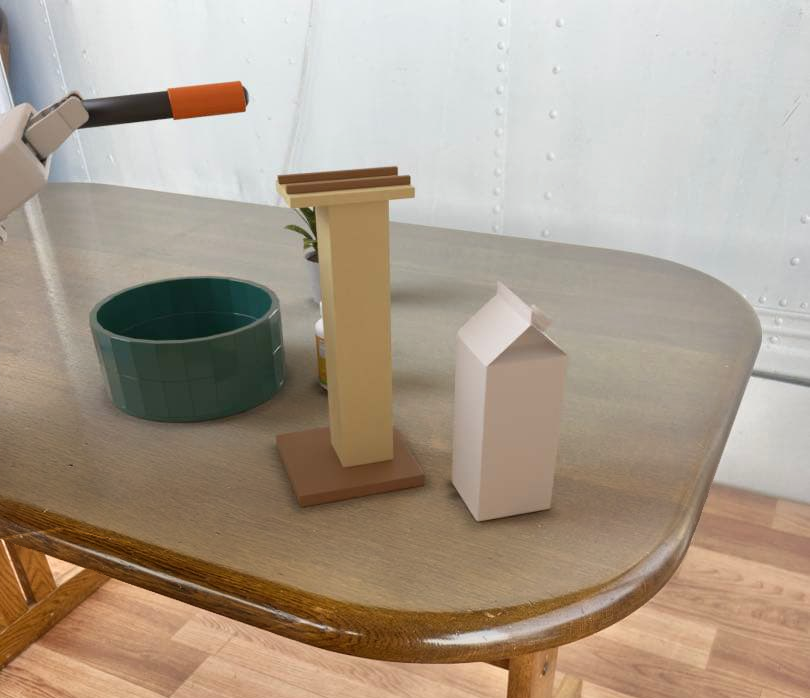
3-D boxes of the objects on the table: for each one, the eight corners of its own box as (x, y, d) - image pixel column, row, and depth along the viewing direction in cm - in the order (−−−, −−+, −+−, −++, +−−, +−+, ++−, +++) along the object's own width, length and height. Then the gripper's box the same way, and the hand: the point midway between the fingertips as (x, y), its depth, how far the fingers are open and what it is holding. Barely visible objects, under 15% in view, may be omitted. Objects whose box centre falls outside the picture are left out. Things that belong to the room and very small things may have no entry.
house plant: (358, 326, 109) (353, 198, 99) (265, 314, 112) (251, 190, 103) (393, 291, 120) (392, 172, 110) (308, 281, 123) (299, 166, 114)
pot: (109, 434, 85) (89, 354, 80) (105, 358, 101) (88, 286, 96) (302, 406, 90) (295, 328, 85) (269, 337, 106) (261, 268, 101)
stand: (300, 507, 74) (269, 201, 58) (276, 445, 83) (244, 166, 67) (424, 485, 77) (427, 187, 61) (388, 427, 86) (382, 156, 70)
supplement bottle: (336, 369, 98) (331, 290, 92) (374, 379, 96) (371, 298, 90) (310, 386, 94) (303, 305, 88) (348, 397, 92) (344, 314, 86)
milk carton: (476, 523, 72) (489, 316, 60) (450, 482, 77) (457, 285, 66) (550, 510, 73) (575, 306, 62) (520, 471, 79) (537, 276, 68)
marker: (53, 136, 64) (44, 104, 63) (54, 130, 66) (45, 99, 65) (253, 113, 68) (248, 82, 66) (249, 108, 69) (244, 78, 68)
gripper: (-110, 202, 56) (48, 80, 55) (-66, 146, 71) (57, 50, 70) (-34, 277, 60) (114, 164, 58) (-9, 208, 75) (109, 118, 74)
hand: (83, 102), depth 65 cm, fingers closed on marker, 2 cm apart
